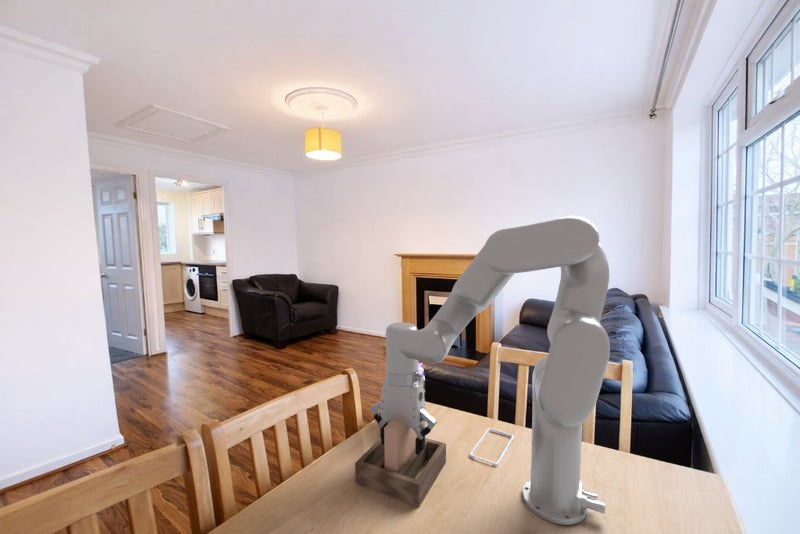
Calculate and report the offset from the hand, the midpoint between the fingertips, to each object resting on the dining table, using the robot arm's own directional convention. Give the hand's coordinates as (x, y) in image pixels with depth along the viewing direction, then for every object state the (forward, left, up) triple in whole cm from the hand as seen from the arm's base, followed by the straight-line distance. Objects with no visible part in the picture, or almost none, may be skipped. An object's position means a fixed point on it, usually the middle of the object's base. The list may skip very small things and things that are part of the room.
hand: (402, 446), depth 85 cm
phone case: (-17, -20, -7) cm, 27 cm away
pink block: (0, 0, -7) cm, 7 cm away
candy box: (+7, -22, -7) cm, 24 cm away
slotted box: (0, 0, -7) cm, 7 cm away
